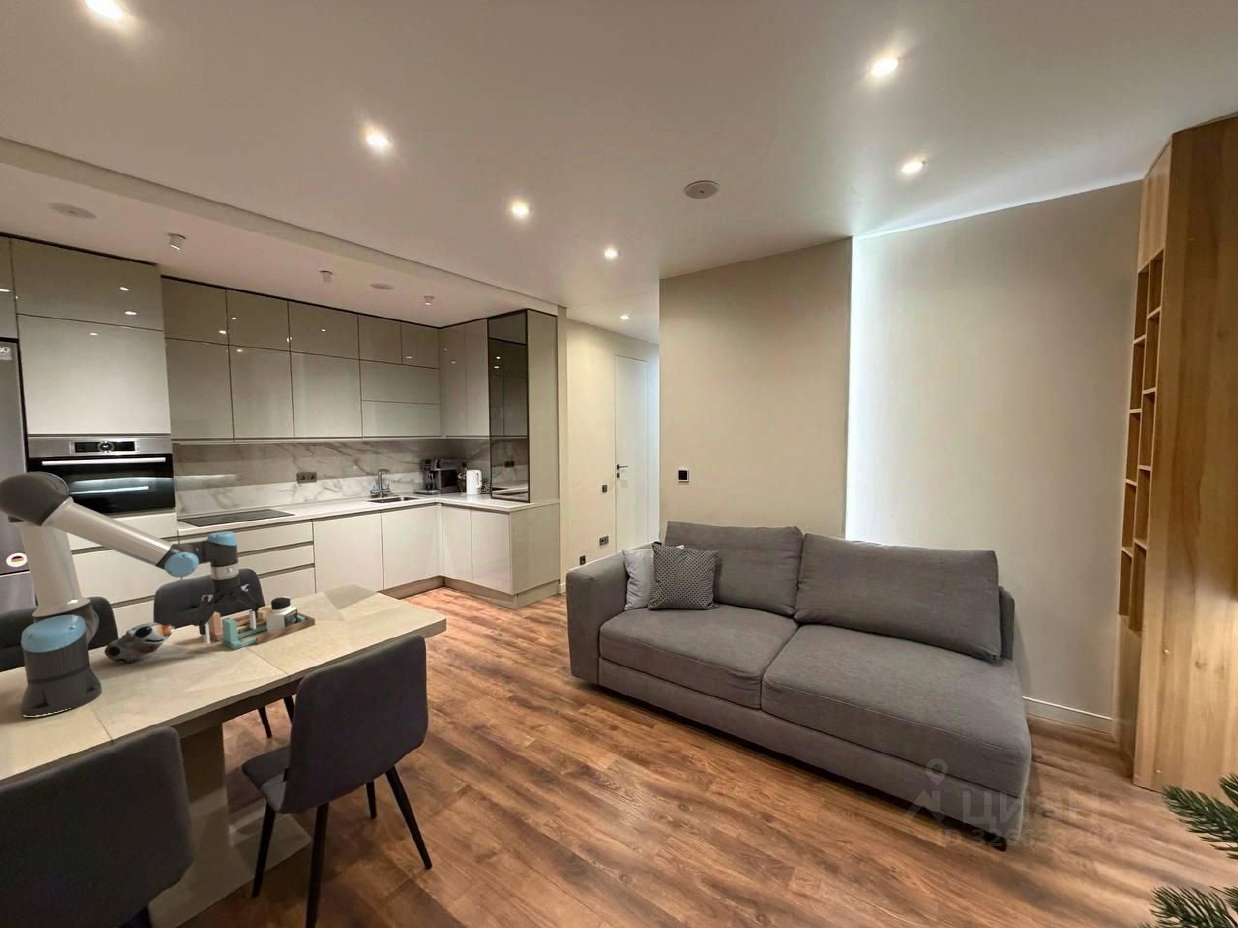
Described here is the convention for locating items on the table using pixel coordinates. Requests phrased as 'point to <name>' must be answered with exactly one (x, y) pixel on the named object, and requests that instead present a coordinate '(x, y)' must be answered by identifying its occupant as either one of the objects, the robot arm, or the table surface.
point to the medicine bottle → (281, 614)
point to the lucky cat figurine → (138, 643)
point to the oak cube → (263, 614)
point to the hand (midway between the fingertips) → (231, 635)
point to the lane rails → (280, 632)
